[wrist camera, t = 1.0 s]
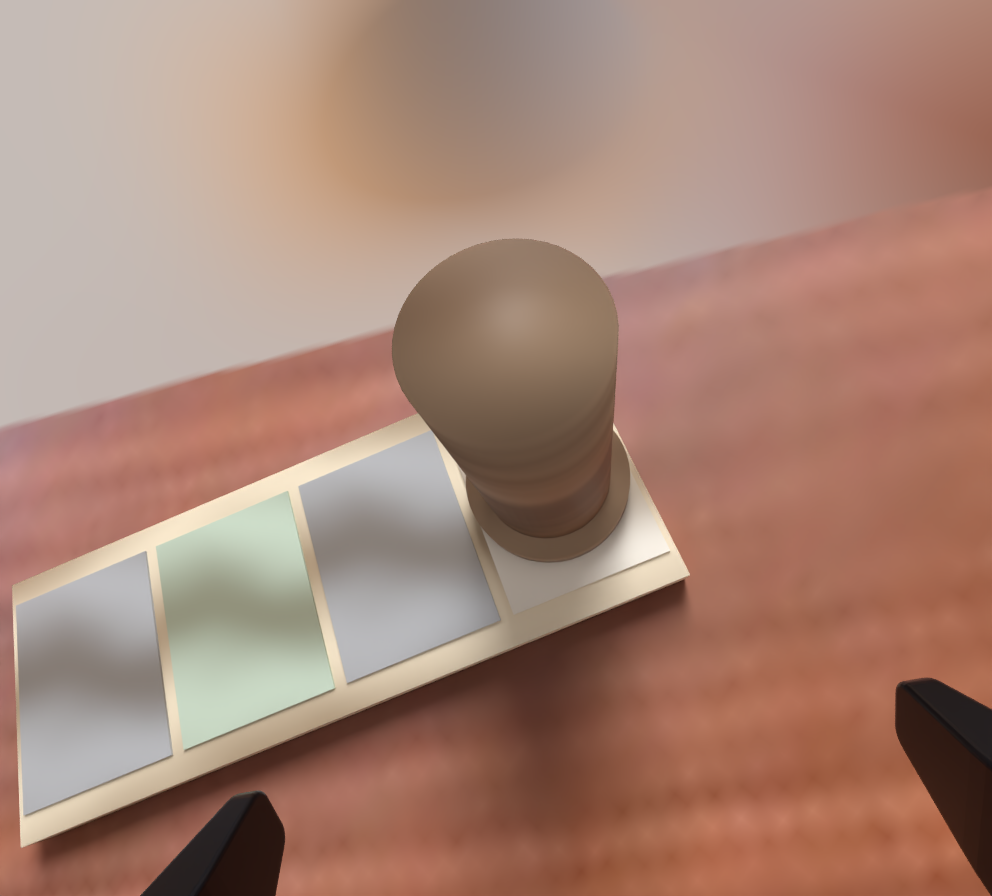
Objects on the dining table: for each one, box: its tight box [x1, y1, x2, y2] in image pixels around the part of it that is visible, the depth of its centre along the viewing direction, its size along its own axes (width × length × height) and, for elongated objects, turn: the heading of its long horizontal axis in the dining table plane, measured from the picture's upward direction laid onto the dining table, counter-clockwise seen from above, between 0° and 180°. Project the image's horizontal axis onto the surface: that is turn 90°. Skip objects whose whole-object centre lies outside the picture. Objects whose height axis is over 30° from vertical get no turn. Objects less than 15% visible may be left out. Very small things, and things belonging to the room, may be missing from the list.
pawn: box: [392, 239, 630, 563], centre depth 16 cm, size 6×6×11 cm
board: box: [12, 413, 690, 848], centre depth 22 cm, size 10×26×1 cm, turn 110°
